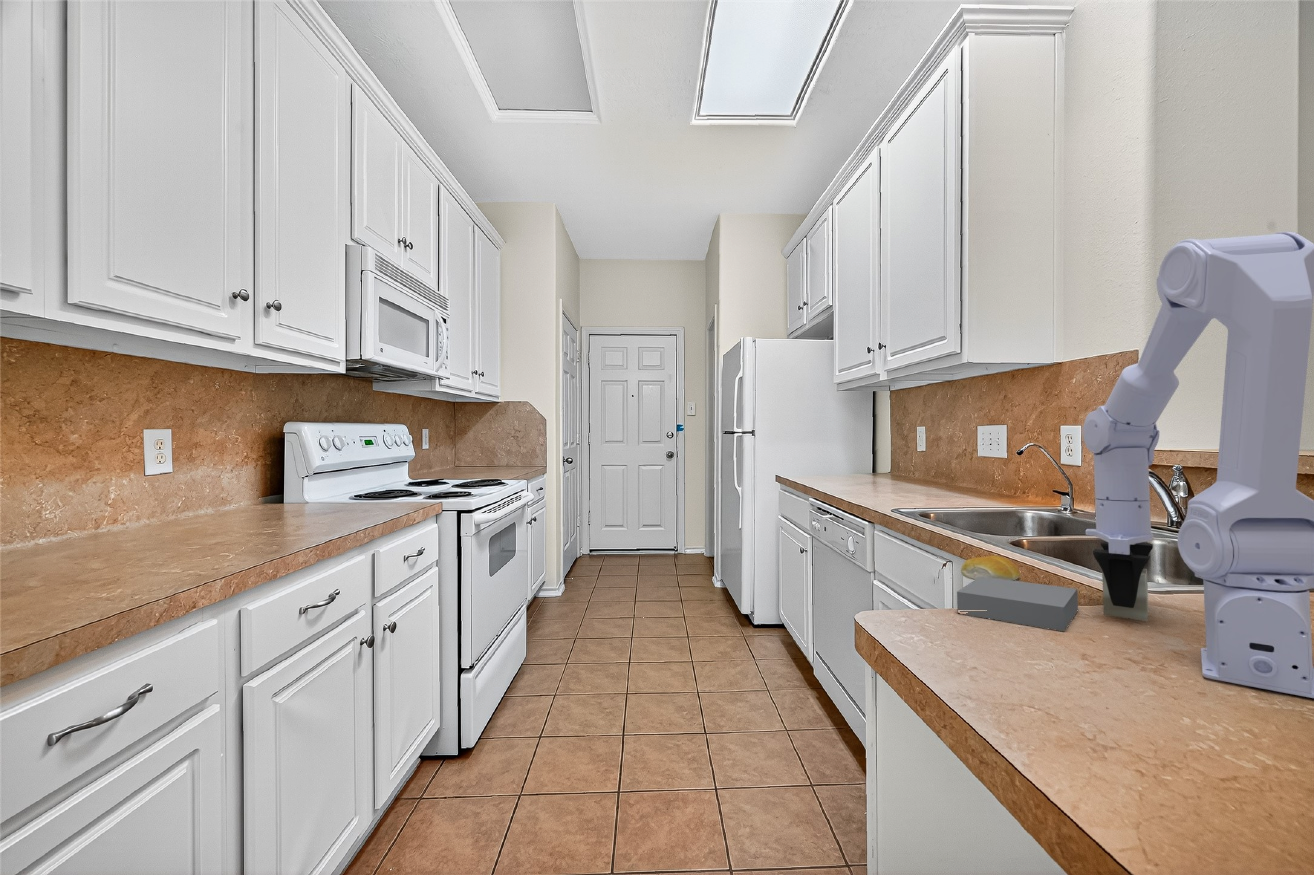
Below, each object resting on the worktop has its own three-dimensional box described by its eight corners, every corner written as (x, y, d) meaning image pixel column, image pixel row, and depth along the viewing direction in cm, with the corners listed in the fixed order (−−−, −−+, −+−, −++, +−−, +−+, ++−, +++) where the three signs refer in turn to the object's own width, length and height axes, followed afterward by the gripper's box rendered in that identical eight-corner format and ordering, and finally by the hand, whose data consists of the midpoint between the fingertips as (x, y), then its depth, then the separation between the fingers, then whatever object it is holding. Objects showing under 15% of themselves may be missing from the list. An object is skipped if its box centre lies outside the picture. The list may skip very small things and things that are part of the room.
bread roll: (1026, 578, 97) (1026, 555, 97) (1002, 586, 92) (1002, 562, 92) (977, 570, 104) (977, 549, 104) (952, 577, 99) (951, 554, 99)
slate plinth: (1064, 631, 69) (1063, 607, 69) (957, 613, 77) (956, 591, 77) (1078, 610, 77) (1077, 588, 77) (980, 596, 86) (980, 576, 86)
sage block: (1147, 621, 72) (1145, 574, 72) (1103, 615, 75) (1102, 570, 75) (1148, 613, 75) (1146, 569, 76) (1107, 608, 78) (1105, 565, 79)
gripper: (1091, 494, 84) (1094, 585, 83) (1077, 502, 73) (1081, 606, 73) (1154, 496, 79) (1157, 593, 79) (1149, 505, 68) (1153, 616, 68)
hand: (1125, 600), depth 75 cm, fingers open, 7 cm apart
